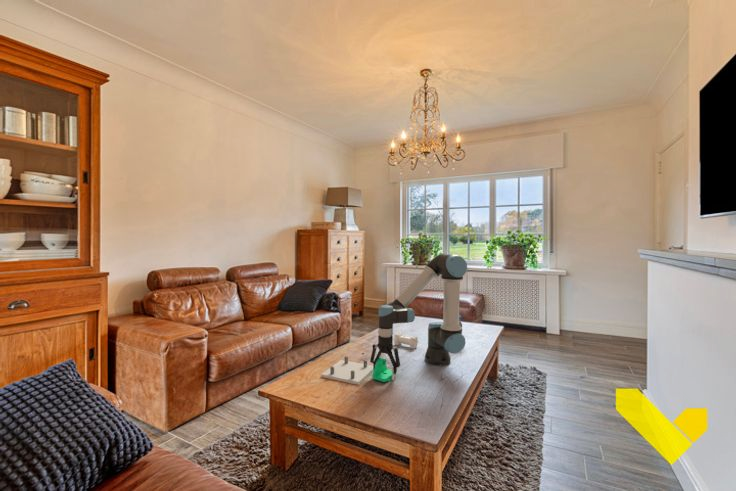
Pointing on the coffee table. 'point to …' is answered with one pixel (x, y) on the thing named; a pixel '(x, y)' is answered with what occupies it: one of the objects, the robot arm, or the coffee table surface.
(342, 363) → the stub plate
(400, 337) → the dog bone
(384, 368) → the camera mount
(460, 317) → the beverage bottle
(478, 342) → the coffee table surface
